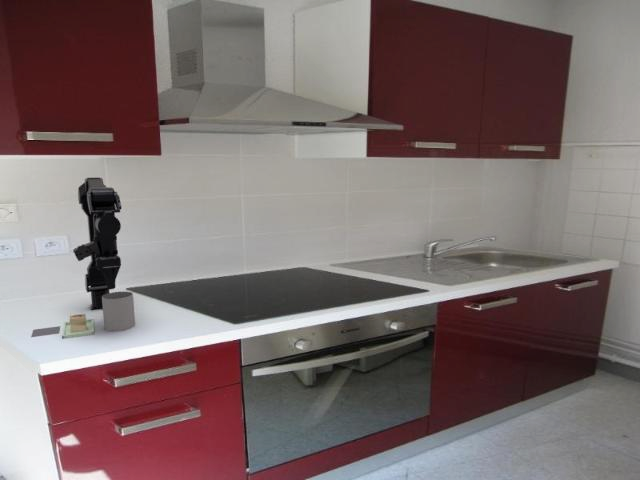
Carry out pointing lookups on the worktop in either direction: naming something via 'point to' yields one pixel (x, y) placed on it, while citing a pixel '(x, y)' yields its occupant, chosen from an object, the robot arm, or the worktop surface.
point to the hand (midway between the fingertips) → (109, 285)
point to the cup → (118, 311)
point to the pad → (45, 331)
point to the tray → (68, 334)
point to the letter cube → (77, 323)
